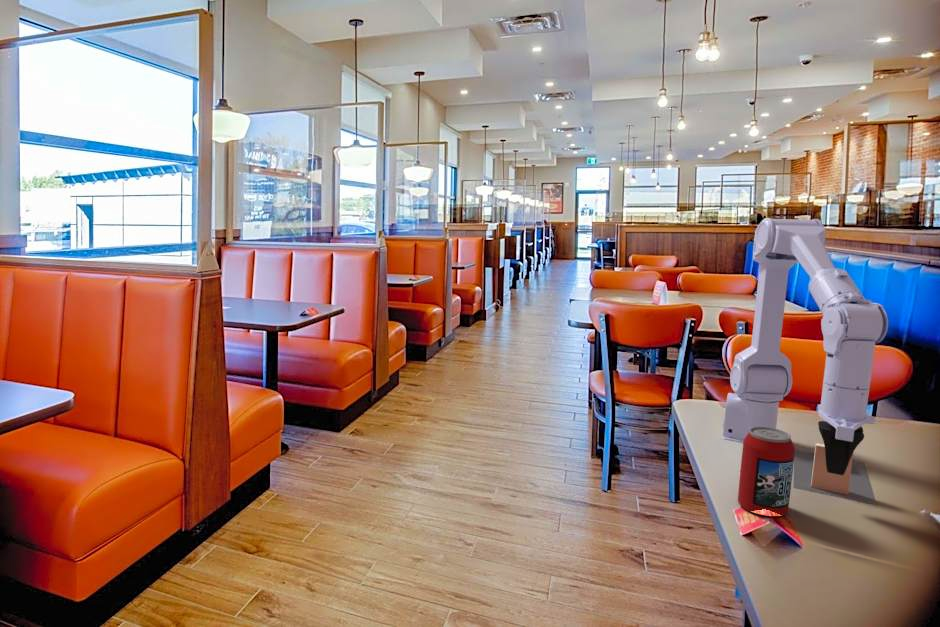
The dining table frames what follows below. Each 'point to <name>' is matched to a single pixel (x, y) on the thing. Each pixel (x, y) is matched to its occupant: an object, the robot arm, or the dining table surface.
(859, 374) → the robot arm
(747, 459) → the beverage can
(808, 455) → the placemat
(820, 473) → the tile
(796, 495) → the dining table surface
